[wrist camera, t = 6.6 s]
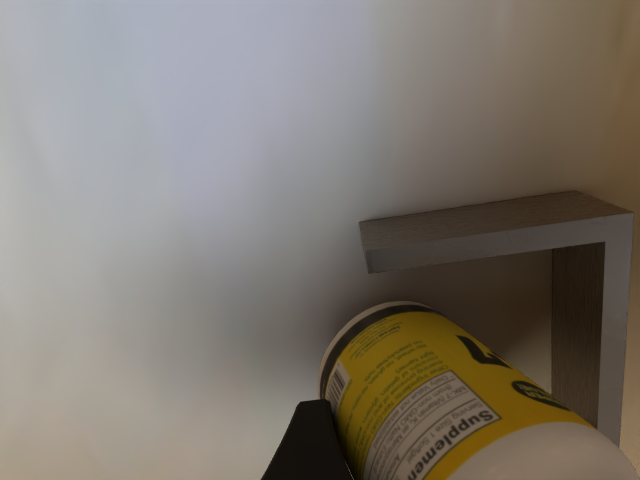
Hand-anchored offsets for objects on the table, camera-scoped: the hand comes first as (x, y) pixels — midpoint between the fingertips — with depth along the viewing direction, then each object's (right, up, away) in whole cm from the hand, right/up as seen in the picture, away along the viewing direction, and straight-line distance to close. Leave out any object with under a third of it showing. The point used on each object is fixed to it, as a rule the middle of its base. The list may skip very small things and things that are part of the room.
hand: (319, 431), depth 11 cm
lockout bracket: (+5, +2, +3) cm, 5 cm away
